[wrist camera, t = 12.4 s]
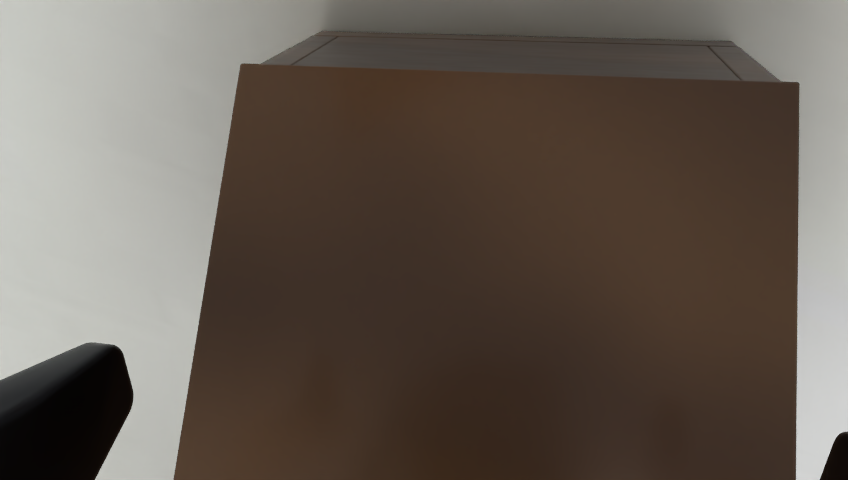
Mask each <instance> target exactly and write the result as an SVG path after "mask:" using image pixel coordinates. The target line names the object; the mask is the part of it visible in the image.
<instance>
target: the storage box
mask: <svg viewBox="0 0 848 480" xmlns="http://www.w3.org/2000/svg"><path fill="white" fill-rule="evenodd" d="M261 64H271V65H301V66H330V67H359V68H389V69H418V70H448V71H477V72H506V73H536V74H565V75H595V76H624V77H653V78H683V79H712V80H742V81H771V82H781V81H779V80H778V79H777V78H776V77H775V76H773V75H772V74H771V73H770V72H769V71H767V70H766V69H765V68H764V67H763V66H761V65H760V64H759V63H758V62H757V61H755V60H754V59H753V58H752V57H751V56H749V55H748V54H747V53H746V52H745V51H743V50H742V49H741V48H740V47H738V46H737V45H736V44H734V43H733V42H731V41H698V40H658V39H618V38H578V37H537V36H497V35H457V34H417V33H377V32H337V31H321V32H319V33H317V34H315V35H314V36H311V37H309V38H307V39H306V40H304V41H302V42H300V43H298V44H296V45H294V46H293V47H291V48H289V49H287V50H285V51H283V52H282V53H280V54H278V55H276V56H274V57H272V58H271V59H269V60H267V61H265V62H263V63H261Z"/></svg>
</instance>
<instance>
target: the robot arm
mask: <svg viewBox="0 0 848 480" xmlns="http://www.w3.org/2000/svg"><path fill="white" fill-rule="evenodd" d="M132 403H133V389H132V385H131V381H130V378H129V374H128V370H127V366H126V363H125V359H124V355H123V353H122V351H121V350H120V348H119V347H117V346H115V345H111V344H102V343H85V344H83V345H80V346H78V347H76V348H74V349H71V350H69V351H67V352H64V353H62V354H60V355H57V356H55V357H53V358H51V359H48V360H46V361H44V362H41V363H39V364H37V365H35V366H32V367H30V368H28V369H25V370H23V371H21V372H18V373H16V374H14V375H12V376H9V377H7V378H5V379H2V380H0V480H95V478H96V476H97V474H98V472H99V470H100V468H101V466H102V464H103V463H104V461H105V459H106V457H107V455H108V453H109V451H110V449H111V447H112V445H113V443H114V441H115V439H116V437H117V435H118V433H119V431H120V430H121V428H122V426H123V424H124V422H125V420H126V418H127V416H128V414H129V412H130V410H131V407H132ZM820 480H848V432H843V433H841V434H839V435H838V436H837V437H836V439H835V441H834V443H833V446H832V449H831V451H830V454H829V457H828V459H827V462H826V465H825V467H824V470H823V473H822V475H821V478H820Z"/></svg>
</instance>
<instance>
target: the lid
mask: <svg viewBox="0 0 848 480" xmlns="http://www.w3.org/2000/svg"><path fill="white" fill-rule="evenodd" d="M798 175H799V83H797V82H771V81H742V80H712V79H683V78H653V77H624V76H595V75H565V74H536V73H506V72H477V71H448V70H418V69H389V68H359V67H330V66H301V65H271V64H241V65H240V71H239V77H238V84H237V90H236V96H235V102H234V108H233V115H232V121H231V127H230V133H229V139H228V146H227V152H226V158H225V164H224V170H223V177H222V183H221V189H220V195H219V201H218V208H217V214H216V220H215V226H214V233H213V239H212V245H211V251H210V257H209V264H208V270H207V276H206V282H205V288H204V295H203V301H202V307H201V313H200V319H199V326H198V332H197V338H196V344H195V350H194V357H193V363H192V369H191V375H190V382H189V388H188V394H187V400H186V406H185V413H184V419H183V425H182V431H181V437H180V444H179V450H178V456H177V462H176V468H175V475H174V480H796V394H797V285H798Z"/></svg>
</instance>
